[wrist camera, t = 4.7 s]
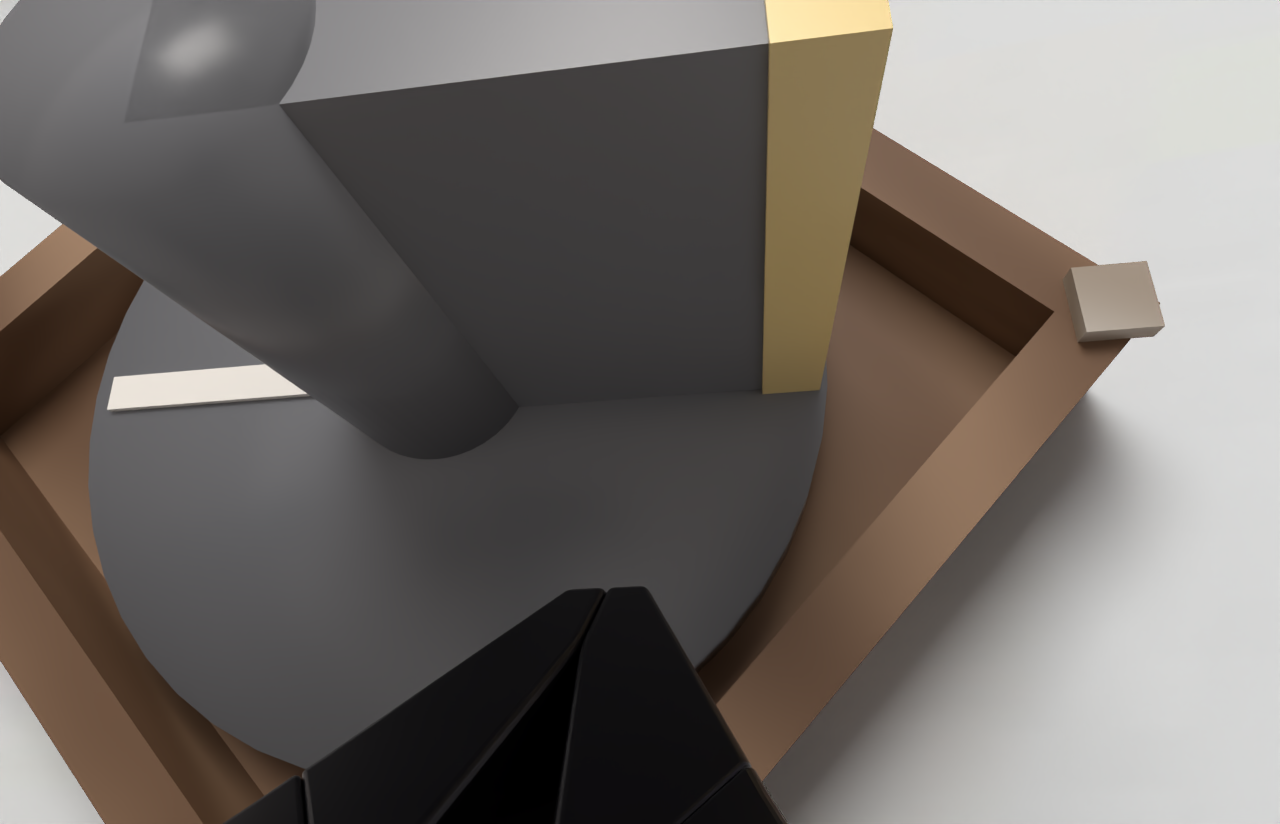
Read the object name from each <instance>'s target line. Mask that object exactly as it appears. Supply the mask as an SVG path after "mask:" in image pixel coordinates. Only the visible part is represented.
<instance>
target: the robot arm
mask: <svg viewBox="0 0 1280 824" xmlns="http://www.w3.org/2000/svg"><path fill="white" fill-rule="evenodd" d="M222 824H788V823H787V821H786V819H785V818H784V816H783V815H782V813H781V812H780V810H779V809H778V807H777V806H776V804H775V803H774V801H773V799H772V798H771V796H770V794H769V793H768V791H767V789H766V787H765V786H764V784H763V782H762V781H761V779H760V777H759V776H758V774H757V772H756V771H755V770H754V769H753V768H752V767H751V764H750V762H749V761H748V759H747V757H746V755H745V754H744V752H743V750H742V749H741V747H740V745H739V743H738V742H737V740H736V738H735V737H734V735H733V733H732V731H731V730H730V728H729V726H728V725H727V723H726V721H725V719H724V718H723V716H722V714H721V713H720V711H719V709H718V707H717V706H716V704H715V702H714V701H713V699H712V697H711V696H710V694H709V692H708V690H707V689H706V687H705V685H704V684H703V682H702V680H701V678H700V677H699V675H698V673H697V672H696V670H695V668H694V666H693V665H692V663H691V661H690V660H689V658H688V656H687V654H686V653H685V651H684V649H683V648H682V646H681V644H680V642H679V641H678V639H677V637H676V636H675V634H674V632H673V630H672V629H671V627H670V625H669V624H668V622H667V620H666V618H665V617H664V615H663V613H662V612H661V610H660V608H659V606H658V605H657V603H656V601H655V600H654V598H653V596H652V594H651V593H650V591H649V590H648V589H647V588H646V587H644V586H632V587H613V588H611V589H609V590H608V591H607V593H606V591H605V590H603V589H601V588H589V589H571V590H567V591H565V592H564V593H562V594H561V595H559V596H558V597H556V598H555V599H553V600H552V601H551V602H549V603H548V604H546V605H545V606H543V607H542V608H540V609H539V610H537V611H536V612H534V613H533V614H532V615H530V616H529V617H527V618H526V619H524V620H523V621H521V622H520V623H518V624H517V625H516V626H514V627H513V628H511V629H510V630H508V631H507V632H505V633H504V634H502V635H501V636H499V637H498V638H497V639H495V640H494V641H492V642H491V643H489V644H488V645H486V646H485V647H483V648H482V649H481V650H479V651H478V652H476V653H475V654H473V655H472V656H470V657H469V658H467V659H466V660H464V661H463V662H462V663H460V664H459V665H457V666H456V667H454V668H453V669H451V670H450V671H448V672H447V673H445V674H444V675H443V676H441V677H440V678H438V679H437V680H435V681H434V682H432V683H431V684H429V685H428V686H426V687H425V688H424V689H422V690H421V691H419V692H418V693H416V694H415V695H413V696H412V697H410V698H409V699H407V700H406V701H405V702H403V703H402V704H400V705H399V706H397V707H396V708H394V709H393V710H391V711H390V712H388V713H387V714H386V715H384V716H383V717H381V718H380V719H378V720H377V721H375V722H374V723H372V724H371V725H369V726H368V727H367V728H365V729H364V730H362V731H361V732H359V733H358V734H356V735H355V736H353V737H352V738H350V739H349V740H348V741H346V742H345V743H343V744H342V745H340V746H339V747H337V748H336V749H334V750H333V751H331V752H330V753H329V754H327V755H326V756H324V757H323V758H321V759H320V760H318V761H317V762H315V763H314V764H312V765H311V766H310V767H308V768H307V769H305V770H304V771H303V773H302V779H301V777H300V776H292V777H291V778H289V779H288V780H286V781H285V782H283V783H282V784H281V785H279V786H278V787H276V788H275V789H273V790H272V791H270V792H269V793H268V794H266V795H265V796H263V797H262V798H260V799H259V800H257V801H256V802H254V803H253V804H251V805H250V806H248V807H247V808H245V809H244V810H242V811H241V812H239V813H238V814H236V815H235V816H233V817H232V818H230V819H229V820H227V821H226V822H224V823H222Z"/></svg>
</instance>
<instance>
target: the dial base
mask: <svg viewBox="0 0 1280 824" xmlns="http://www.w3.org/2000/svg"><path fill="white" fill-rule="evenodd" d="M143 281H144V280H143V279H141V278H140V277H139V276H137V275H136V274H134V273H133V272H131V271H130V270H128V269H127V268H126V267H124V266H123V265H121V264H120V263H118V262H117V261H116V260H114V259H113V258H111V257H110V256H108V255H107V254H105V253H104V252H103V251H101V250H100V249H98V248H97V247H95V246H94V245H92V244H91V243H90V242H88V241H87V240H85V239H84V238H82V237H81V236H80V235H78V234H77V233H75V232H74V231H72V230H71V229H69V228H68V227H67V226H65V225H64V224H62V225H61V226H60V227H59V228H57V229H56V230H55V231H54V232H53V233H51V234H50V235H49V236H48V237H47V238H46V239H44V240H43V241H42V242H41V243H40V244H38V245H37V246H36V247H35V248H34V249H33V250H31V251H30V252H29V253H28V254H27V255H25V256H24V257H23V258H22V259H21V260H20V261H18V262H17V263H16V264H15V265H14V266H12V267H11V268H10V269H9V270H8V271H7V272H5V273H4V274H3V275H2V276H1V277H0V661H1V662H2V664H3V665H4V667H5V669H6V670H7V672H8V673H9V675H10V676H11V678H12V679H13V681H14V683H15V684H16V686H17V687H18V689H19V690H20V692H21V693H22V695H23V697H24V698H25V700H26V701H27V703H28V704H29V706H30V708H31V709H32V711H33V712H34V714H35V715H36V717H37V718H38V720H39V722H40V723H41V725H42V726H43V728H44V729H45V731H46V733H47V734H48V736H49V737H50V739H51V740H52V742H53V743H54V745H55V747H56V748H57V750H58V751H59V753H60V754H61V756H62V758H63V759H64V761H65V762H66V764H67V765H68V767H69V768H70V770H71V772H72V773H73V775H74V776H75V778H76V779H77V781H78V783H79V784H80V786H81V787H82V789H83V790H84V792H85V793H86V795H87V797H88V798H89V800H90V801H91V803H92V804H93V806H94V808H95V809H96V811H97V812H98V814H99V815H100V817H101V818H102V820H103V822H104V823H105V824H222V823H224V822H226V821H227V820H229V819H230V818H232V817H233V816H235V815H236V814H238V813H239V812H241V811H242V810H244V809H245V808H247V807H248V806H250V805H251V804H253V803H254V802H256V801H257V800H259V799H260V798H262V797H263V796H265V795H266V794H268V793H269V792H270V791H272V790H273V789H275V788H276V787H278V786H279V785H281V784H282V783H283V782H285V781H286V780H288V779H289V778H291V777H292V776H300V777H301V779H302V773H303V771H304V770H305V769H304V768H301V767H299V766H296V765H294V764H291V763H288V762H286V761H283V760H281V759H278V758H276V757H273V756H270V755H268V754H265V753H263V752H260V751H258V750H256V749H254V748H252V747H251V746H249V745H247V744H246V743H244V742H242V741H241V740H239V739H237V738H236V737H234V736H232V735H230V734H229V733H227V732H225V731H224V730H222V729H220V728H219V727H217V726H215V725H214V724H213V723H211V722H210V721H209V720H208V719H207V718H205V717H204V716H203V715H202V714H201V713H199V712H198V711H197V710H196V709H195V708H193V707H192V706H191V705H190V704H189V703H188V702H186V701H185V700H184V699H183V698H182V697H180V696H179V695H178V694H177V693H176V692H175V691H174V690H173V689H172V687H171V686H170V685H169V684H168V683H167V682H166V680H165V679H164V678H163V677H162V676H161V675H160V673H159V672H158V671H157V670H156V669H155V668H154V666H153V665H152V664H151V663H150V662H149V661H148V659H147V658H146V657H145V655H144V654H143V652H142V650H141V649H140V647H139V645H138V644H137V642H136V641H135V639H134V637H133V636H132V634H131V632H130V631H129V629H128V627H127V626H126V624H125V623H124V621H123V619H122V618H121V615H120V613H119V610H118V608H117V606H116V603H115V601H114V598H113V596H112V594H111V591H110V589H109V586H108V584H107V581H106V579H105V577H104V574H103V570H102V566H101V562H100V558H99V554H98V550H97V546H96V541H95V537H94V533H93V527H92V517H91V508H90V498H89V488H88V479H89V449H90V436H91V430H92V424H93V418H94V412H95V405H96V399H97V395H98V391H99V388H100V384H101V381H102V377H103V374H104V370H105V367H106V363H107V360H108V356H109V353H110V351H111V348H112V346H113V344H114V341H115V339H116V336H117V334H118V331H119V329H120V327H121V324H122V322H123V319H124V317H125V315H126V312H127V311H128V309H129V307H130V305H131V303H132V301H133V300H134V298H135V296H136V294H137V292H138V290H139V289H140V287H141V285H142V283H143ZM1159 304H1160V302H1158V299H1157V296H1156V292H1155V288H1154V285H1153V281H1152V278H1151V274H1150V271H1149V267H1148V264H1147V261H1142V262H1131V263H1120V264H1108V265H1097V264H1096V263H1094V262H1092V261H1091V260H1089V259H1087V258H1086V257H1084V256H1082V255H1081V254H1079V253H1077V252H1076V251H1074V250H1072V249H1071V248H1069V247H1068V246H1066V245H1064V244H1063V243H1061V242H1059V241H1058V240H1056V239H1054V238H1053V237H1051V236H1049V235H1048V234H1046V233H1045V232H1043V231H1041V230H1040V229H1038V228H1036V227H1035V226H1033V225H1031V224H1030V223H1028V222H1026V221H1025V220H1023V219H1022V218H1020V217H1018V216H1017V215H1015V214H1013V213H1012V212H1010V211H1008V210H1007V209H1005V208H1003V207H1002V206H1000V205H999V204H997V203H995V202H994V201H992V200H990V199H989V198H987V197H985V196H984V195H982V194H980V193H979V192H977V191H976V190H974V189H972V188H971V187H969V186H967V185H966V184H964V183H962V182H961V181H959V180H957V179H956V178H954V177H952V176H951V175H949V174H948V173H946V172H944V171H943V170H941V169H939V168H938V167H936V166H934V165H933V164H931V163H929V162H928V161H926V160H925V159H923V158H921V157H920V156H918V155H916V154H915V153H913V152H911V151H910V150H908V149H906V148H905V147H903V146H902V145H900V144H898V143H897V142H895V141H893V140H892V139H890V138H888V137H887V136H885V135H883V134H882V133H880V132H879V131H877V130H875V129H874V128H873V130H872V135H871V140H870V144H869V149H868V154H867V159H866V164H865V169H864V174H863V179H862V184H861V189H860V194H859V199H858V204H857V209H856V214H855V219H854V224H853V228H852V233H851V238H850V243H849V248H848V253H847V258H846V263H845V268H844V273H843V278H842V283H841V288H840V293H839V298H838V303H837V308H836V312H835V317H834V322H833V327H832V332H831V337H830V342H829V347H828V352H827V357H826V366H827V395H826V405H825V415H824V425H823V435H822V440H821V444H820V448H819V452H818V456H817V461H816V465H815V469H814V473H813V477H812V481H811V485H810V489H809V493H808V497H807V501H806V505H805V509H804V511H803V514H802V516H801V519H800V521H799V524H798V526H797V529H796V531H795V534H794V536H793V539H792V541H791V544H790V546H789V549H788V551H787V554H786V556H785V558H784V559H783V561H782V563H781V565H780V567H779V568H778V570H777V572H776V574H775V575H774V577H773V579H772V581H771V582H770V584H769V586H768V588H767V589H766V591H765V593H764V595H763V596H762V598H761V600H760V601H759V603H758V604H757V605H756V606H755V608H754V609H753V610H752V612H751V613H750V614H749V616H748V617H747V618H746V620H745V621H744V622H743V624H742V625H741V626H740V627H739V629H738V630H737V631H736V633H735V634H734V635H733V637H732V638H731V639H730V641H729V642H728V643H727V644H726V645H725V646H724V647H723V648H722V649H721V650H720V651H719V652H718V653H717V654H716V655H715V656H714V657H713V658H712V659H711V660H710V661H709V662H708V663H707V664H706V665H705V666H704V667H703V668H702V669H701V670H700V671H699V672H698V675H699V677H700V678H701V680H702V682H703V684H704V685H705V687H706V689H707V690H708V692H709V694H710V696H711V697H712V699H713V701H714V702H715V704H716V706H717V707H718V709H719V711H720V713H721V714H722V716H723V718H724V719H725V721H726V723H727V725H728V726H729V728H730V730H731V731H732V733H733V735H734V737H735V738H736V740H737V742H738V743H739V745H740V747H741V749H742V750H743V752H744V754H745V755H746V757H747V759H748V761H749V762H750V764H751V767H752V768H753V769H754V770H755V771H756V772H757V774H758V776H759V777H760V779H761V781H763V780H764V779H765V777H766V776H767V775H768V774H769V773H770V771H771V770H772V769H773V768H774V767H775V765H776V764H777V763H778V762H779V761H780V759H781V758H782V757H783V756H784V755H785V753H786V752H787V751H788V750H789V749H790V747H791V746H792V745H793V744H794V743H795V741H796V740H797V739H798V738H799V737H800V735H801V734H802V733H803V732H804V731H805V729H806V728H807V727H808V726H809V725H810V723H811V722H812V721H813V720H814V719H815V717H816V716H817V715H818V714H819V713H820V711H821V710H822V709H823V708H824V707H825V705H826V704H827V703H828V702H829V701H830V699H831V698H832V697H833V696H834V695H835V693H836V692H837V691H838V690H839V689H840V687H841V686H842V685H843V684H844V682H845V681H846V680H847V679H848V678H849V676H850V675H851V674H852V673H853V672H854V670H855V669H856V668H857V667H858V666H859V664H860V663H861V662H862V661H863V660H864V658H865V657H866V656H867V655H868V654H869V652H870V651H871V650H872V649H873V648H874V646H875V645H876V644H877V643H878V642H879V640H880V639H881V638H882V637H883V636H884V634H885V633H886V632H887V631H888V630H889V628H890V627H891V626H892V625H893V624H894V622H895V621H896V620H897V619H898V618H899V616H900V615H901V614H902V613H903V612H904V610H905V609H906V608H907V607H908V606H909V604H910V603H911V602H912V601H913V600H914V598H915V597H916V596H917V595H918V594H919V592H920V591H921V590H922V589H923V588H924V586H925V585H926V584H927V583H928V582H929V580H930V579H931V578H932V577H933V576H934V574H935V573H936V572H937V571H938V570H939V568H940V567H941V566H942V565H943V564H944V562H945V561H946V560H947V559H948V558H949V556H950V555H951V554H952V553H953V552H954V550H955V549H956V548H957V547H958V546H959V544H960V543H961V542H962V541H963V540H964V538H965V537H966V536H967V535H968V534H969V532H970V531H971V530H972V529H973V528H974V526H975V525H976V524H977V523H978V522H979V520H980V519H981V518H982V517H983V516H984V514H985V513H986V512H987V511H988V510H989V508H990V507H991V506H992V505H993V504H994V502H995V501H996V500H997V499H998V498H999V496H1000V495H1001V494H1002V493H1003V492H1004V490H1005V489H1006V488H1007V487H1008V486H1009V484H1010V483H1011V482H1012V481H1013V480H1014V478H1015V477H1016V476H1017V475H1018V474H1019V472H1020V471H1021V470H1022V469H1023V468H1024V466H1025V465H1026V464H1027V463H1028V462H1029V460H1030V459H1031V458H1032V457H1033V455H1034V454H1035V453H1036V452H1037V451H1038V449H1039V448H1040V447H1041V446H1042V445H1043V443H1044V442H1045V441H1046V440H1047V439H1048V437H1049V436H1050V435H1051V434H1052V433H1053V431H1054V430H1055V429H1056V428H1057V427H1058V425H1059V424H1060V423H1061V422H1062V421H1063V419H1064V418H1065V417H1066V416H1067V415H1068V413H1069V412H1070V411H1071V410H1072V409H1073V407H1074V406H1075V405H1076V404H1077V403H1078V401H1079V400H1080V399H1081V398H1082V397H1083V395H1084V394H1085V393H1086V392H1087V391H1088V389H1089V388H1090V387H1091V386H1092V385H1093V383H1094V382H1095V381H1096V380H1097V379H1098V377H1099V376H1100V375H1101V374H1102V373H1103V371H1104V370H1105V369H1106V368H1107V367H1108V365H1109V364H1110V363H1111V362H1112V361H1113V359H1114V358H1115V357H1116V356H1117V355H1118V353H1119V352H1120V351H1121V350H1122V349H1123V347H1124V346H1125V345H1126V344H1127V343H1128V341H1129V340H1130V339H1131V338H1140V337H1153V336H1155V335H1156V334H1157V333H1158V332H1159V331H1160V330H1161V329H1162V328H1163V327H1164V326H1165V324H1164V320H1163V317H1162V313H1161V310H1160V306H1159Z"/></svg>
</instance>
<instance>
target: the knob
mask: <svg viewBox="0 0 1280 824" xmlns="http://www.w3.org/2000/svg"><path fill="white" fill-rule="evenodd" d="M892 31H893V25H892V19H891V14H890V8H889V2H888V0H20V1H19V2H18V3H17V4H16V5H15V7H14V8H13V9H12V10H11V11H10V13H9V14H8V15H7V16H6V18H5V19H4V20H3V22H2V23H1V25H0V180H1V181H2V182H3V183H5V184H6V185H8V186H9V187H10V188H12V189H13V190H15V191H16V192H18V193H19V194H21V195H22V196H23V197H25V198H26V199H28V200H29V201H31V202H32V203H33V204H35V205H36V206H38V207H39V208H41V209H42V210H44V211H45V212H46V213H48V214H49V215H51V216H52V217H54V218H55V219H57V220H58V221H59V222H61V223H62V224H64V225H65V226H67V227H68V228H69V229H71V230H72V231H74V232H75V233H77V234H78V235H80V236H81V237H82V238H84V239H85V240H87V241H88V242H90V243H91V244H92V245H94V246H95V247H97V248H98V249H100V250H101V251H103V252H104V253H105V254H107V255H108V256H110V257H111V258H113V259H114V260H116V261H117V262H118V263H120V264H121V265H123V266H124V267H126V268H127V269H128V270H130V271H131V272H133V273H134V274H136V275H137V276H139V277H140V278H141V279H143V280H144V281H143V283H142V285H141V287H140V289H139V290H138V292H137V294H136V296H135V298H134V300H133V301H132V303H131V305H130V307H129V309H128V311H127V312H126V315H125V317H124V319H123V322H122V324H121V327H120V329H119V331H118V334H117V336H116V339H115V341H114V344H113V346H112V348H111V351H110V353H109V356H108V360H107V363H106V367H105V370H104V374H103V377H102V381H101V384H100V388H99V391H98V395H97V399H96V405H95V412H94V418H93V424H92V430H91V436H90V449H89V479H88V488H89V498H90V508H91V517H92V527H93V533H94V537H95V541H96V546H97V550H98V554H99V558H100V562H101V566H102V570H103V574H104V577H105V579H106V581H107V584H108V586H109V589H110V591H111V594H112V596H113V598H114V601H115V603H116V606H117V608H118V610H119V613H120V615H121V618H122V619H123V621H124V623H125V624H126V626H127V627H128V629H129V631H130V632H131V634H132V636H133V637H134V639H135V641H136V642H137V644H138V645H139V647H140V649H141V650H142V652H143V654H144V655H145V657H146V658H147V659H148V661H149V662H150V663H151V664H152V665H153V666H154V668H155V669H156V670H157V671H158V672H159V673H160V675H161V676H162V677H163V678H164V679H165V680H166V682H167V683H168V684H169V685H170V686H171V687H172V689H173V690H174V691H175V692H176V693H177V694H178V695H179V696H180V697H182V698H183V699H184V700H185V701H186V702H188V703H189V704H190V705H191V706H192V707H193V708H195V709H196V710H197V711H198V712H199V713H201V714H202V715H203V716H204V717H205V718H207V719H208V720H209V721H210V722H211V723H213V724H214V725H215V726H217V727H219V728H220V729H222V730H224V731H225V732H227V733H229V734H230V735H232V736H234V737H236V738H237V739H239V740H241V741H242V742H244V743H246V744H247V745H249V746H251V747H252V748H254V749H256V750H258V751H260V752H263V753H265V754H268V755H270V756H273V757H276V758H278V759H281V760H283V761H286V762H288V763H291V764H294V765H296V766H299V767H301V768H304V769H307V768H308V767H310V766H311V765H312V764H314V763H315V762H317V761H318V760H320V759H321V758H323V757H324V756H326V755H327V754H329V753H330V752H331V751H333V750H334V749H336V748H337V747H339V746H340V745H342V744H343V743H345V742H346V741H348V740H349V739H350V738H352V737H353V736H355V735H356V734H358V733H359V732H361V731H362V730H364V729H365V728H367V727H368V726H369V725H371V724H372V723H374V722H375V721H377V720H378V719H380V718H381V717H383V716H384V715H386V714H387V713H388V712H390V711H391V710H393V709H394V708H396V707H397V706H399V705H400V704H402V703H403V702H405V701H406V700H407V699H409V698H410V697H412V696H413V695H415V694H416V693H418V692H419V691H421V690H422V689H424V688H425V687H426V686H428V685H429V684H431V683H432V682H434V681H435V680H437V679H438V678H440V677H441V676H443V675H444V674H445V673H447V672H448V671H450V670H451V669H453V668H454V667H456V666H457V665H459V664H460V663H462V662H463V661H464V660H466V659H467V658H469V657H470V656H472V655H473V654H475V653H476V652H478V651H479V650H481V649H482V648H483V647H485V646H486V645H488V644H489V643H491V642H492V641H494V640H495V639H497V638H498V637H499V636H501V635H502V634H504V633H505V632H507V631H508V630H510V629H511V628H513V627H514V626H516V625H517V624H518V623H520V622H521V621H523V620H524V619H526V618H527V617H529V616H530V615H532V614H533V613H534V612H536V611H537V610H539V609H540V608H542V607H543V606H545V605H546V604H548V603H549V602H551V601H552V600H553V599H555V598H556V597H558V596H559V595H561V594H562V593H564V592H565V591H567V590H571V589H589V588H601V589H603V590H605V591H606V593H607V591H608V590H609V589H611V588H613V587H632V586H644V587H646V588H647V589H648V590H649V591H650V593H651V594H652V596H653V598H654V600H655V601H656V603H657V605H658V606H659V608H660V610H661V612H662V613H663V615H664V617H665V618H666V620H667V622H668V624H669V625H670V627H671V629H672V630H673V632H674V634H675V636H676V637H677V639H678V641H679V642H680V644H681V646H682V648H683V649H684V651H685V653H686V654H687V656H688V658H689V660H690V661H691V663H692V665H693V666H694V668H695V670H696V672H697V673H698V672H699V671H700V670H701V669H702V668H703V667H704V666H705V665H706V664H707V663H708V662H709V661H710V660H711V659H712V658H713V657H714V656H715V655H716V654H717V653H718V652H719V651H720V650H721V649H722V648H723V647H724V646H725V645H726V644H727V643H728V642H729V641H730V639H731V638H732V637H733V635H734V634H735V633H736V631H737V630H738V629H739V627H740V626H741V625H742V624H743V622H744V621H745V620H746V618H747V617H748V616H749V614H750V613H751V612H752V610H753V609H754V608H755V606H756V605H757V604H758V603H759V601H760V600H761V598H762V596H763V595H764V593H765V591H766V589H767V588H768V586H769V584H770V582H771V581H772V579H773V577H774V575H775V574H776V572H777V570H778V568H779V567H780V565H781V563H782V561H783V559H784V558H785V556H786V554H787V551H788V549H789V546H790V544H791V541H792V539H793V536H794V534H795V531H796V529H797V526H798V524H799V521H800V519H801V516H802V514H803V511H804V509H805V505H806V501H807V497H808V493H809V489H810V485H811V481H812V477H813V473H814V469H815V465H816V461H817V456H818V452H819V448H820V444H821V440H822V435H823V425H824V415H825V405H826V395H827V366H826V357H827V352H828V347H829V342H830V337H831V332H832V327H833V322H834V317H835V312H836V308H837V303H838V298H839V293H840V288H841V283H842V278H843V273H844V268H845V263H846V258H847V253H848V248H849V243H850V238H851V233H852V228H853V224H854V219H855V214H856V209H857V204H858V199H859V194H860V189H861V184H862V179H863V174H864V169H865V164H866V159H867V154H868V149H869V144H870V140H871V135H872V130H873V125H874V120H875V115H876V110H877V105H878V100H879V95H880V90H881V85H882V80H883V75H884V70H885V65H886V61H887V56H888V51H889V46H890V41H891V36H892Z"/></svg>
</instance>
